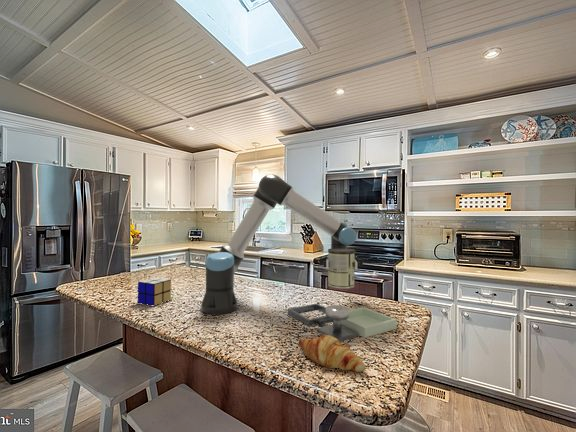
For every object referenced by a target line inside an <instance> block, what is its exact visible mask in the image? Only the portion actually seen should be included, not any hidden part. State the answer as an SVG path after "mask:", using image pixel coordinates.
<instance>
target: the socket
mask: <svg viewBox="0 0 576 432" xmlns="http://www.w3.org/2000/svg"><path fill="white" fill-rule="evenodd" d="M326 307H327V306H326ZM326 307H325V306H324V305H322V304H319V303H313V304H308V305H302V306H301V305H300V306H297V307H296V306H295V307H291V308H290V307H289V308H287V315H289V316H291V317H292V318H295V319H296V320H298V321H300V322H301V323H303V324H305V325H306V326H307V327H310V326H315V325H318V323H320V322H322V323H324V324H325V323H328V322H333V319H330V318H328V317H326V315H323V316H318V317H314V318H308V317H307V316H304V315H303V314H301V313H303V312H309V311H314V310H317V311H320V312H322V313H324V314H326Z"/></svg>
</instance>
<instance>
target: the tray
mask: <svg viewBox="0 0 576 432" xmlns="http://www.w3.org/2000/svg"><path fill="white" fill-rule="evenodd" d="M397 324H398V323H397V318H393V317H391V316H389V315H386V314H384V313H380V312H378V311H375V310H372V309H370V308H367V307H365V306H364V307H358V308H353V309H349V318H348V319H345V320H342V325H344V326H346V327H348V328H350V329H352V330H354V331H356V332H358V336H361V337H363V338H364V339H365V338H369V337H373V336H376V335H380V334H382V333H387V332H389V331H393V330H394V331H395V330H397V327H398V326H397Z"/></svg>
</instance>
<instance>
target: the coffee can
mask: <svg viewBox="0 0 576 432" xmlns="http://www.w3.org/2000/svg"><path fill="white" fill-rule="evenodd" d="M327 251H328V252H327V253H328V255H327V256H328V269H327V271H328V275H327V277H328V278H327V283H328V284H327V286H328V287H330V288H333V289H341V290H344V289H345V290H347V289H353V288H354V287H355V268H354V256H355V252H356V250H355V249H353V248H348V247H347V248H332V249H331V248H328V249H327Z"/></svg>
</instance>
